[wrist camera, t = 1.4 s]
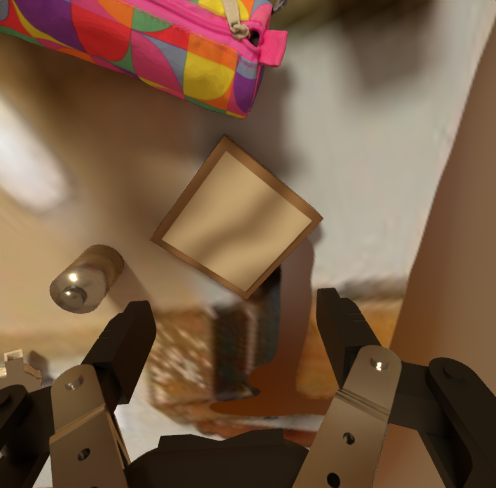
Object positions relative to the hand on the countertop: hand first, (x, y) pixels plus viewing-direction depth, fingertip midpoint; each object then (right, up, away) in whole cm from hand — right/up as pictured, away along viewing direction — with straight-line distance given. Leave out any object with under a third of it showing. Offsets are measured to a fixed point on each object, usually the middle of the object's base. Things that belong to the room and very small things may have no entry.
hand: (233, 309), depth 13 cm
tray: (-1, +6, +20) cm, 21 cm away
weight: (-18, +1, +22) cm, 28 cm away
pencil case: (-8, +23, +12) cm, 27 cm away
